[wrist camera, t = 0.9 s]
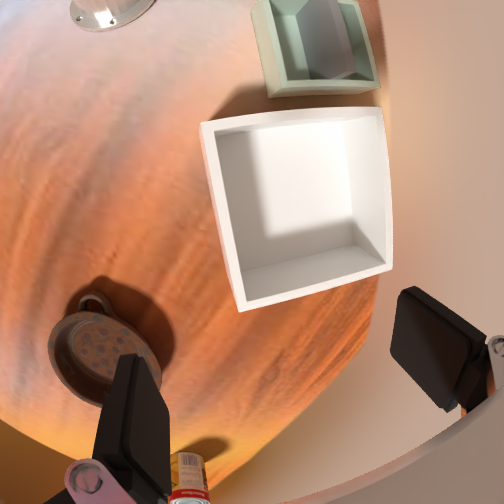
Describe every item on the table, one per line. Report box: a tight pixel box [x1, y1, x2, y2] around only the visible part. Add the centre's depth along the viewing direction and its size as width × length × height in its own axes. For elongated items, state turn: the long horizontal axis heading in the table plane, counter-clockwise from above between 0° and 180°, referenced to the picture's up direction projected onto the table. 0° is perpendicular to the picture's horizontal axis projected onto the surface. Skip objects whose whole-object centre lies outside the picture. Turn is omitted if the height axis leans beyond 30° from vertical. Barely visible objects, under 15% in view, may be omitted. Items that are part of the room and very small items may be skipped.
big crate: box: [199, 107, 393, 312], centre depth 32 cm, size 19×19×9 cm
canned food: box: [170, 452, 210, 504], centre depth 44 cm, size 8×8×12 cm
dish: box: [48, 291, 162, 408], centre depth 36 cm, size 18×22×5 cm
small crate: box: [250, 0, 381, 98], centre depth 26 cm, size 13×13×10 cm
